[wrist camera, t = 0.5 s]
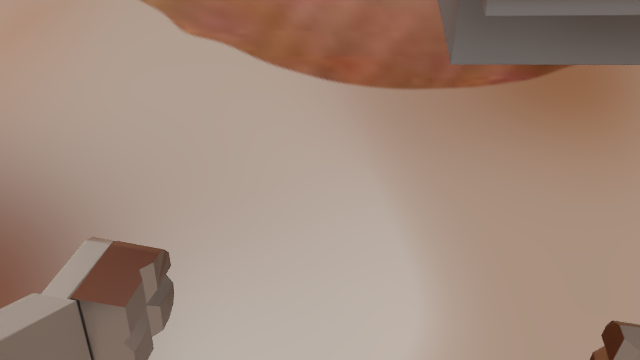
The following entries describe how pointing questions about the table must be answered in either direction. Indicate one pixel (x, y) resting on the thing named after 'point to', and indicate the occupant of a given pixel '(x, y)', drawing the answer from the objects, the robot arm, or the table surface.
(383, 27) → the table surface
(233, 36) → the table surface
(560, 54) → the grey stepped block
